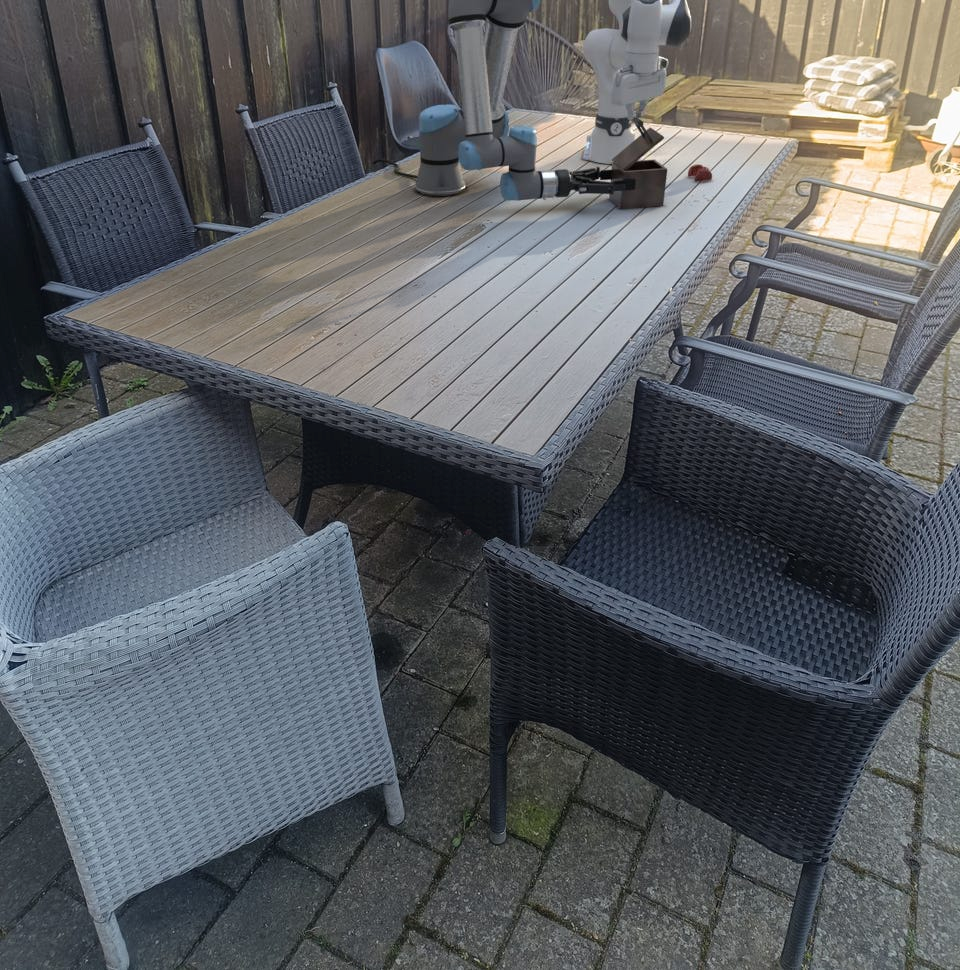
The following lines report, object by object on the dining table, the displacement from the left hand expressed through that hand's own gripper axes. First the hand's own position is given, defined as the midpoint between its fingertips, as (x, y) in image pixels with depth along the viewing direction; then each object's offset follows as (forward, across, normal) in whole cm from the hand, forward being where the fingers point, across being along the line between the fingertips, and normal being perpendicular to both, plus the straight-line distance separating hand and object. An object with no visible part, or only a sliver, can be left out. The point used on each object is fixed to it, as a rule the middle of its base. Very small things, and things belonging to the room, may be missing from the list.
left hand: (628, 179), depth 244 cm
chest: (+3, 0, -7) cm, 7 cm away
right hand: (0, 0, +16) cm, 17 cm away
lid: (+2, 0, +8) cm, 8 cm away
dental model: (+32, -18, -7) cm, 37 cm away
